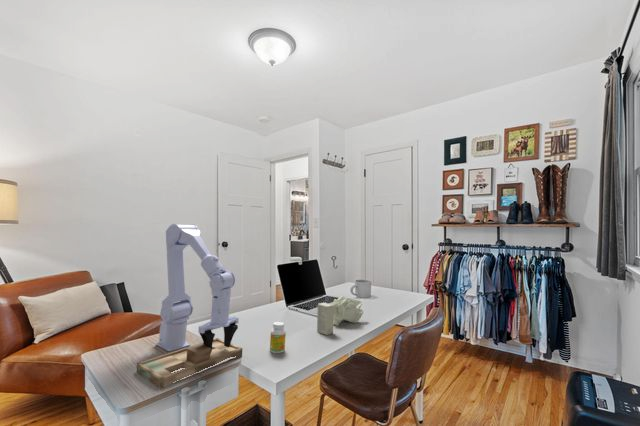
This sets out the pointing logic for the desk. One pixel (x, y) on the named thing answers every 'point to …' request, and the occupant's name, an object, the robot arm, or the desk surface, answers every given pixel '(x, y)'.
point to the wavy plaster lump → (346, 310)
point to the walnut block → (198, 354)
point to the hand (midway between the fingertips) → (217, 349)
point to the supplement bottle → (277, 338)
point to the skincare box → (325, 318)
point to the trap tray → (183, 363)
